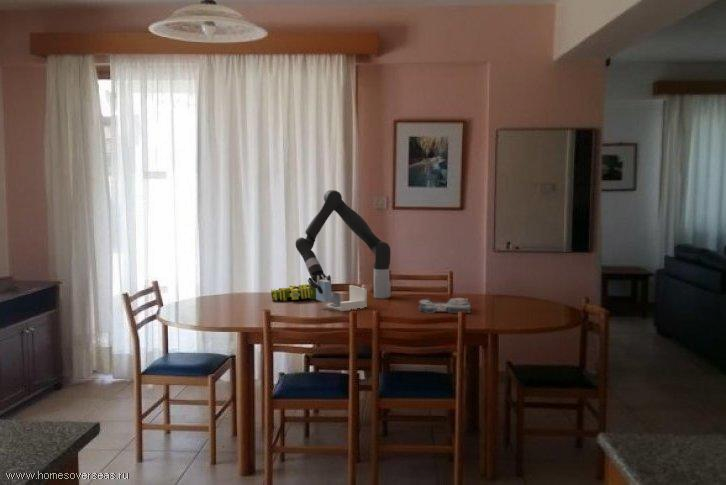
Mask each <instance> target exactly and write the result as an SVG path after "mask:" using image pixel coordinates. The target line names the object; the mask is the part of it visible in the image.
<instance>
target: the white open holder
mask: <svg viewBox="0 0 726 485" xmlns="http://www.w3.org/2000/svg"><path fill="white" fill-rule="evenodd" d="M348 288H349V290H348V291H349V300H346V301H345V300H344V301H341V300H342V299H341V293H339V292H335V291H332V302H329V303H326V307H329V308H331V309H335V310H338V311H341V312H344V311H353V309H354V310H358V309H357V308H360V309H365V308H364V307H367V308H368V302H367V301H368V299H367V298H368V295H367V294H368V292H367V291H368V290H367V288H365V287H364V288H363V287H359V286H357V285H353V284H350V285H349V286H348ZM351 309H352V310H351Z"/></svg>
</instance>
